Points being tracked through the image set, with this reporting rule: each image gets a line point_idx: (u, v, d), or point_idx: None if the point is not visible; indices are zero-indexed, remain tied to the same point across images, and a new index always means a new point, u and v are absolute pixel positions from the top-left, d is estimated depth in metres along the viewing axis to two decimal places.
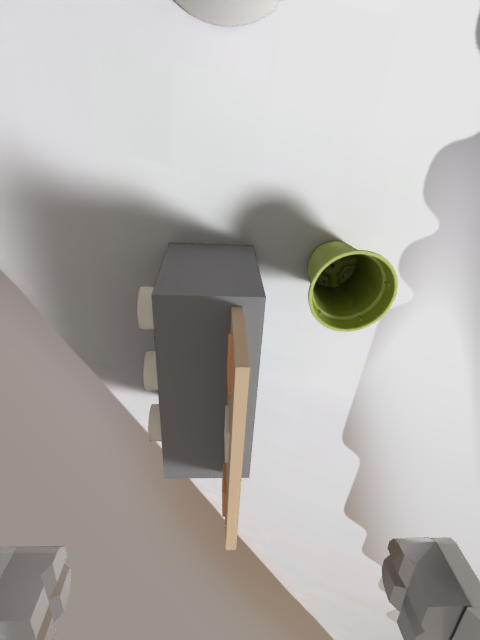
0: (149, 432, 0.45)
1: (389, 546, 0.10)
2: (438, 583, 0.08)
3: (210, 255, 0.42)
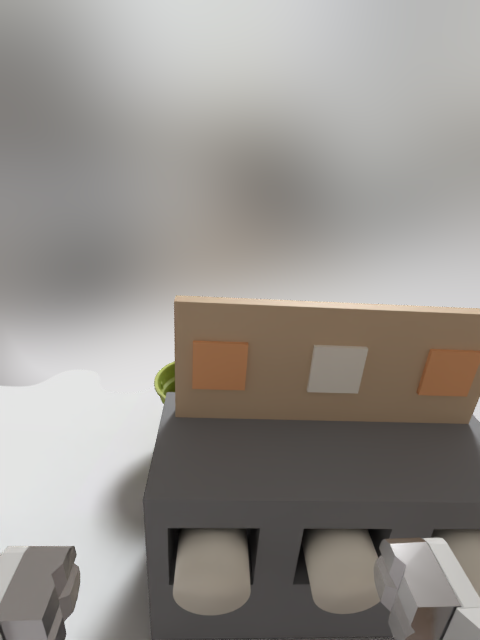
0: None
1: (380, 546, 0.10)
2: (428, 583, 0.08)
3: None
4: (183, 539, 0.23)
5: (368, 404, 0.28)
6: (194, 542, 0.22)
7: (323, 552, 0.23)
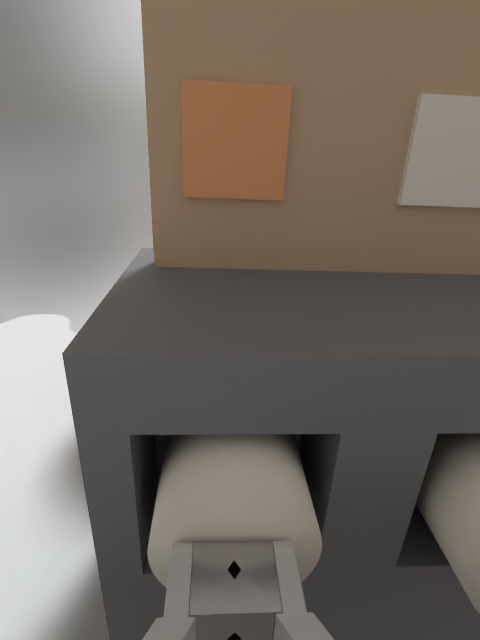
0: None
1: None
2: (257, 588, 0.08)
3: None
4: (172, 449, 0.11)
5: None
6: (195, 447, 0.10)
7: None
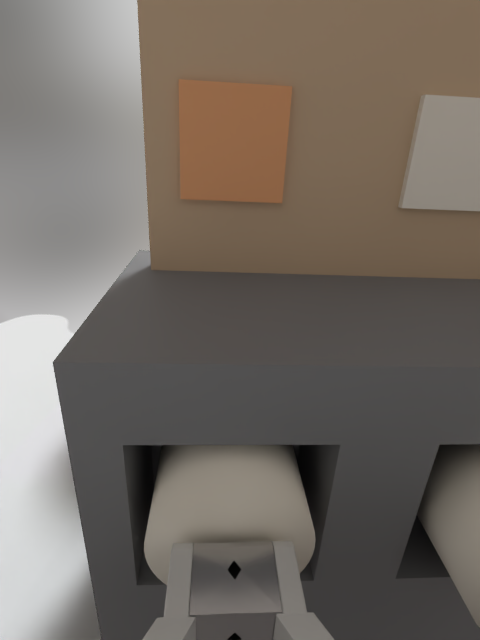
0: None
1: None
2: (257, 588, 0.08)
3: None
4: (169, 446, 0.11)
5: None
6: None
7: None
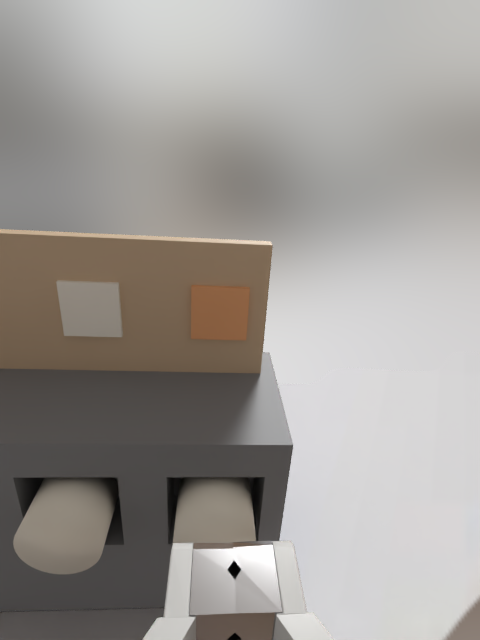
0: (205, 514, 0.19)
1: None
2: (257, 588, 0.08)
3: None
4: None
5: (140, 350, 0.25)
6: None
7: (33, 503, 0.20)
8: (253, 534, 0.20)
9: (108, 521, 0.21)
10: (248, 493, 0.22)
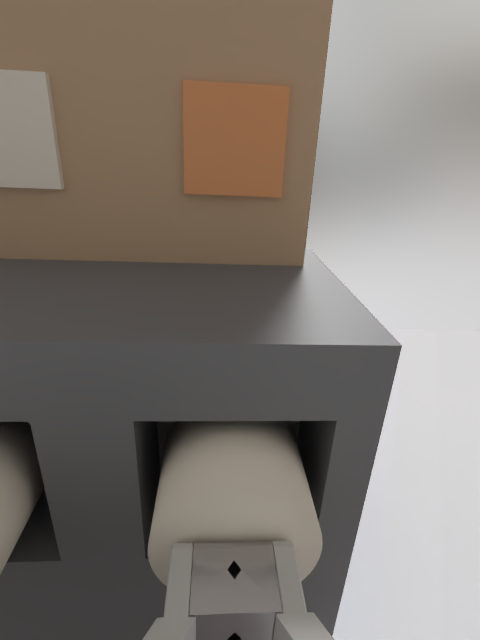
0: (217, 485, 0.09)
1: None
2: (257, 588, 0.08)
3: None
4: None
5: (97, 220, 0.15)
6: None
7: None
8: (318, 528, 0.09)
9: (15, 515, 0.10)
10: (297, 451, 0.11)
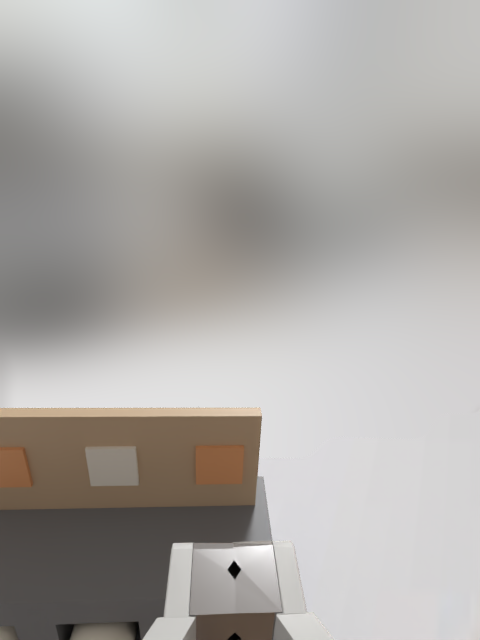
0: None
1: None
2: (257, 588, 0.08)
3: None
4: None
5: (154, 492, 0.30)
6: None
7: None
8: None
9: None
10: None
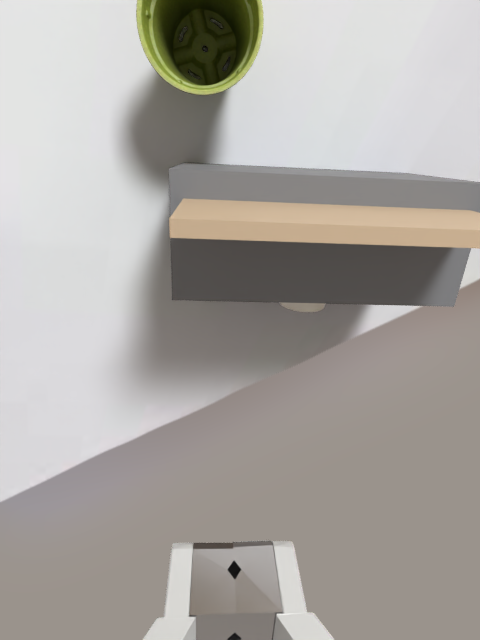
0: None
1: None
2: (257, 588, 0.08)
3: None
4: None
5: None
6: None
7: None
8: None
9: None
10: None
